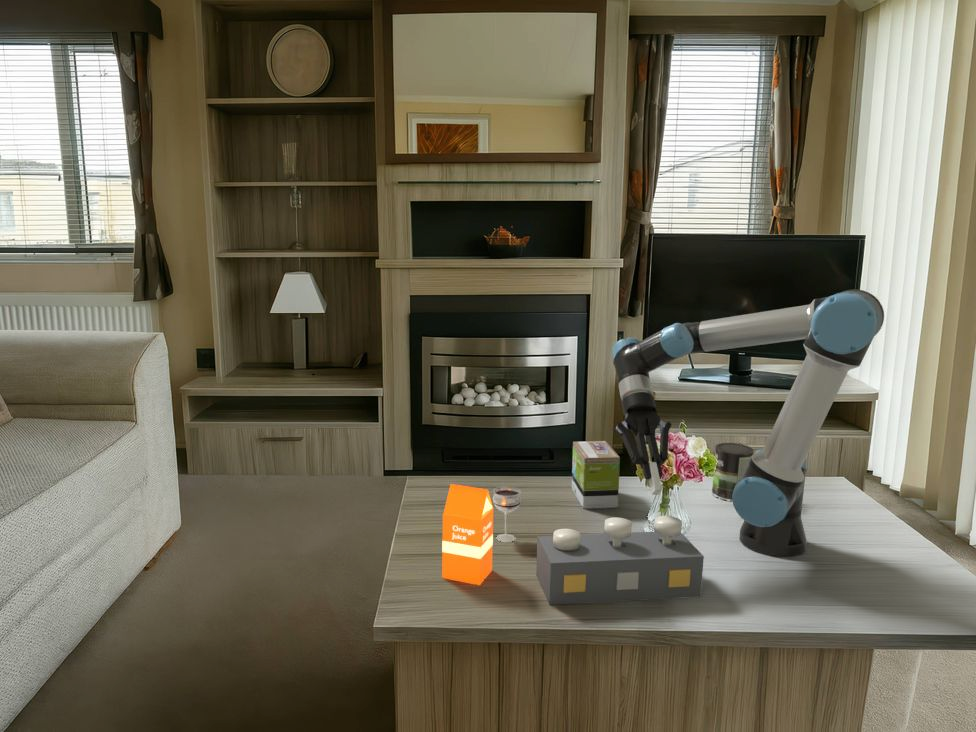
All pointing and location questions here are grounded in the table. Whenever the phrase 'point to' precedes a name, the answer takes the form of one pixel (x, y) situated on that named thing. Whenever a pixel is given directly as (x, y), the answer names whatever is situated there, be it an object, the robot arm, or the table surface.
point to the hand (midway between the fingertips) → (656, 492)
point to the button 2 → (667, 528)
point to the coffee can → (729, 468)
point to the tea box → (595, 474)
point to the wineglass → (506, 506)
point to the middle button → (617, 529)
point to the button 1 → (566, 539)
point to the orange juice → (467, 535)
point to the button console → (619, 569)
